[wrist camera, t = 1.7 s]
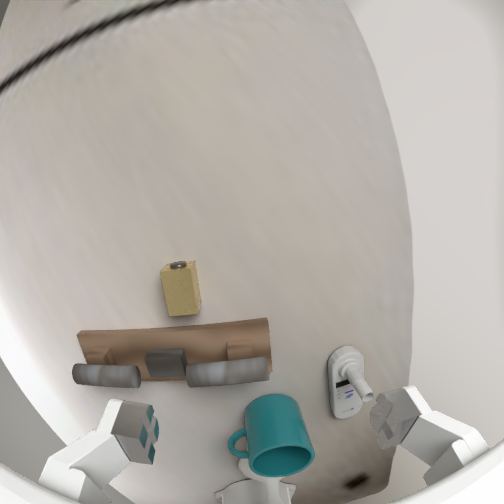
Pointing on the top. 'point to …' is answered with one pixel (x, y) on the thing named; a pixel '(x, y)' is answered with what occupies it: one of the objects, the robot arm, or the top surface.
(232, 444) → the cup
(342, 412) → the electronic device
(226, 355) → the shaft bench
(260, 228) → the top surface
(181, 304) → the block
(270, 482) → the flower in vase
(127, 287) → the top surface
